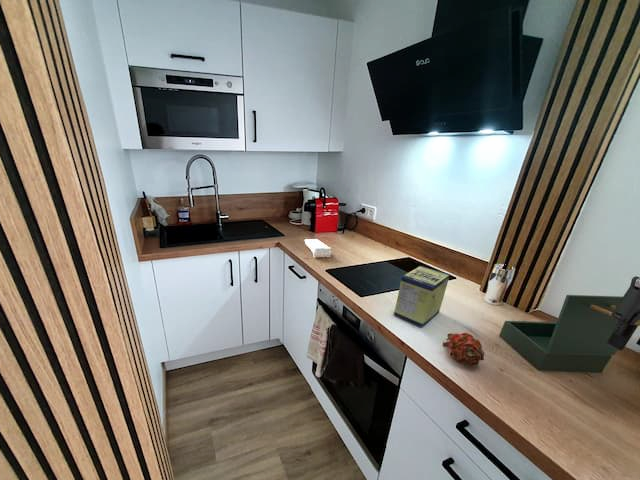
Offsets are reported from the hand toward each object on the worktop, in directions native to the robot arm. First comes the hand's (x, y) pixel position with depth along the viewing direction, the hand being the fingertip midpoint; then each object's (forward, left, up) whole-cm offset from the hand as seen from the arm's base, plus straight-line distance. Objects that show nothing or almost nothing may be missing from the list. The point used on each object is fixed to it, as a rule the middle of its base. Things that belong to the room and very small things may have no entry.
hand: (629, 346), depth 65 cm
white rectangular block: (+98, -68, -15) cm, 120 cm away
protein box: (+43, -19, -15) cm, 49 cm away
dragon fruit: (+31, +1, -15) cm, 34 cm away
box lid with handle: (+4, -8, 0) cm, 9 cm away
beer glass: (+16, -44, -15) cm, 49 cm away
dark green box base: (+7, -14, -15) cm, 21 cm away
